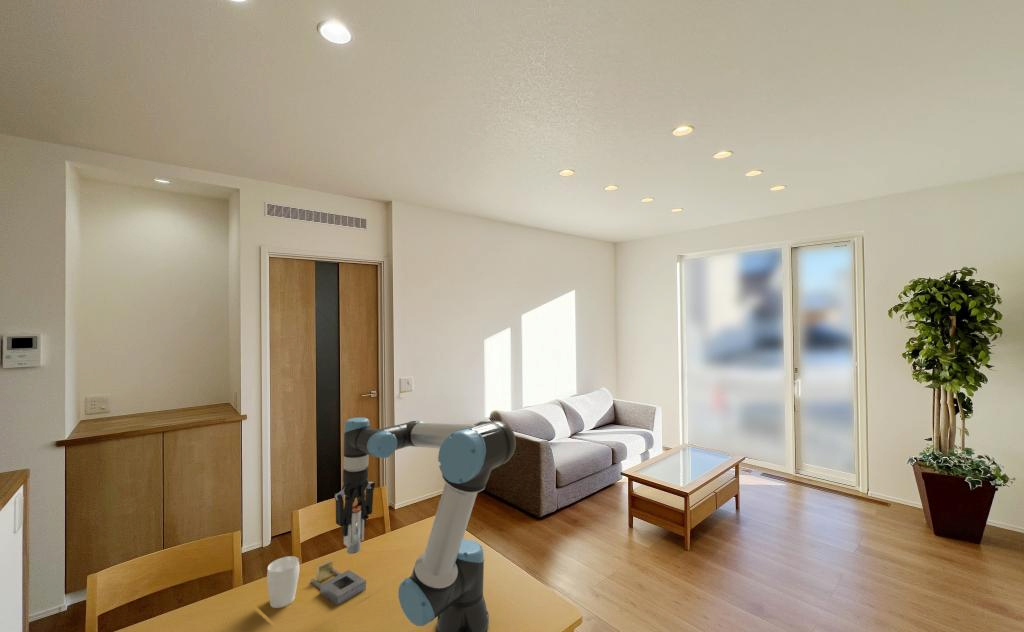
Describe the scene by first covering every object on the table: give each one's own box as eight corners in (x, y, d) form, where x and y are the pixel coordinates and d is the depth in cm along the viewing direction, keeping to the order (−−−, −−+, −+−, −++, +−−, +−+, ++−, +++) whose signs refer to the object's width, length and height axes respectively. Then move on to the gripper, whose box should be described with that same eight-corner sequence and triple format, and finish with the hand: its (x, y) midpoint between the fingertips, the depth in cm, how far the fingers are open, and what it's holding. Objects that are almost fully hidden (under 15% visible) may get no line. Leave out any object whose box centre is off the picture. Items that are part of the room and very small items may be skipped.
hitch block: (373, 586, 136) (373, 576, 137) (334, 609, 125) (334, 598, 125) (343, 567, 147) (343, 558, 147) (304, 587, 136) (305, 576, 136)
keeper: (332, 575, 141) (332, 560, 141) (318, 582, 137) (319, 567, 137) (330, 573, 142) (330, 559, 142) (316, 580, 138) (316, 565, 138)
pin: (362, 549, 129) (364, 505, 130) (351, 555, 126) (352, 509, 126) (355, 545, 132) (356, 501, 132) (344, 551, 128) (345, 506, 129)
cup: (284, 614, 123) (285, 574, 123) (258, 610, 125) (259, 570, 125) (305, 595, 132) (306, 557, 132) (281, 591, 133) (282, 554, 134)
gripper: (371, 458, 139) (369, 527, 138) (323, 472, 125) (321, 549, 124) (385, 463, 134) (383, 534, 134) (337, 478, 120) (335, 558, 120)
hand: (353, 541), depth 129 cm, fingers closed on pin, 4 cm apart
